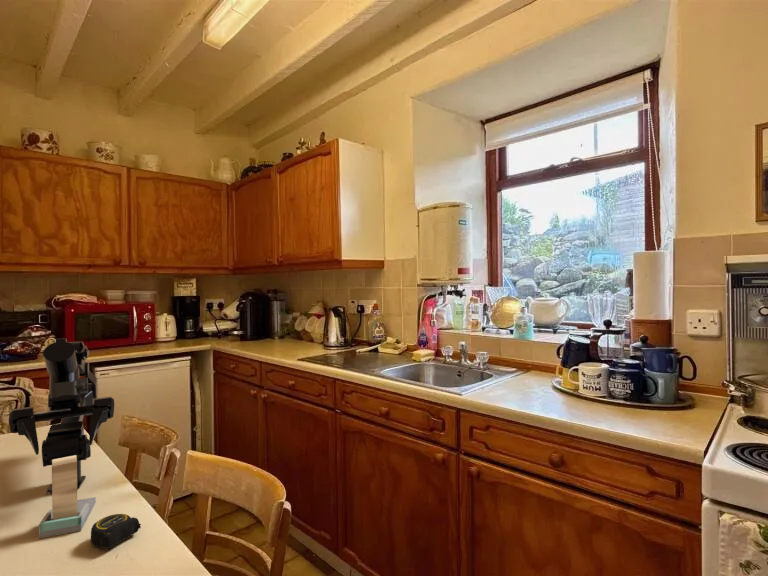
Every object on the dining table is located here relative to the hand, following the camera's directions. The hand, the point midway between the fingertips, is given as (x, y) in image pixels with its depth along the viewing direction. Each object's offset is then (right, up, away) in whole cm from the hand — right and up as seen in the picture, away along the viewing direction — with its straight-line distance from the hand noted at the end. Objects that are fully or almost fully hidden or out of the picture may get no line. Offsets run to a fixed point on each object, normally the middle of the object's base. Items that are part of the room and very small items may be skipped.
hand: (64, 448), depth 93 cm
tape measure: (+17, -14, -10) cm, 24 cm away
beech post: (+4, -12, -5) cm, 14 cm away
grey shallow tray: (+3, -14, -3) cm, 14 cm away
